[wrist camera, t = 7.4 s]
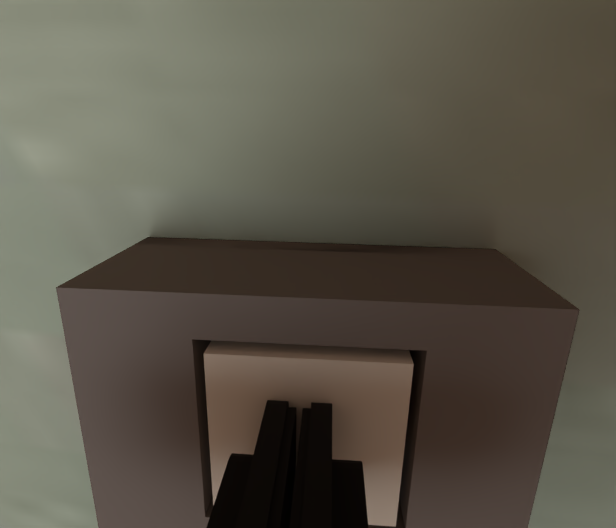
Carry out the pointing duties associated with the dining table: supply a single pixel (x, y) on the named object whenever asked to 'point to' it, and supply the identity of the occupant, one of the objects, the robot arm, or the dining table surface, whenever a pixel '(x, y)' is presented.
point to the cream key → (319, 389)
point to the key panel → (323, 332)
